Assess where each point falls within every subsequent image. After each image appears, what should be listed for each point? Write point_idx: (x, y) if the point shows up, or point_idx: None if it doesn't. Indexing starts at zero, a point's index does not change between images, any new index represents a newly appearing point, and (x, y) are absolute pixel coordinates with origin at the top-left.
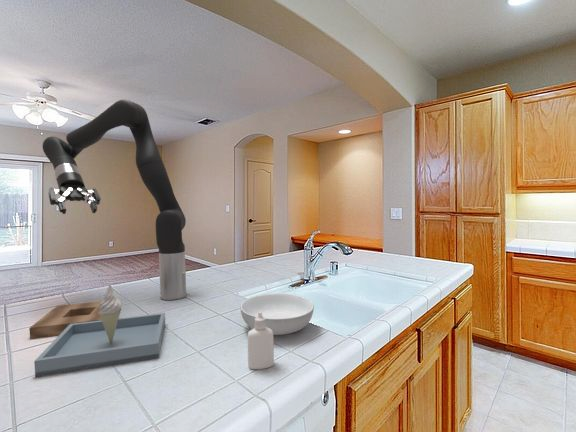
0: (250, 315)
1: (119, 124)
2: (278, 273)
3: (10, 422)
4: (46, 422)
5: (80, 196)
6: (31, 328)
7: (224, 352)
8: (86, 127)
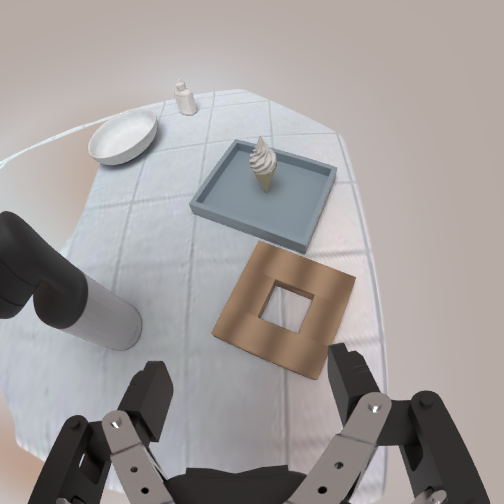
0: (155, 120)
1: None
2: None
3: (340, 137)
4: (320, 126)
5: (196, 472)
6: (353, 276)
7: (192, 133)
8: None
